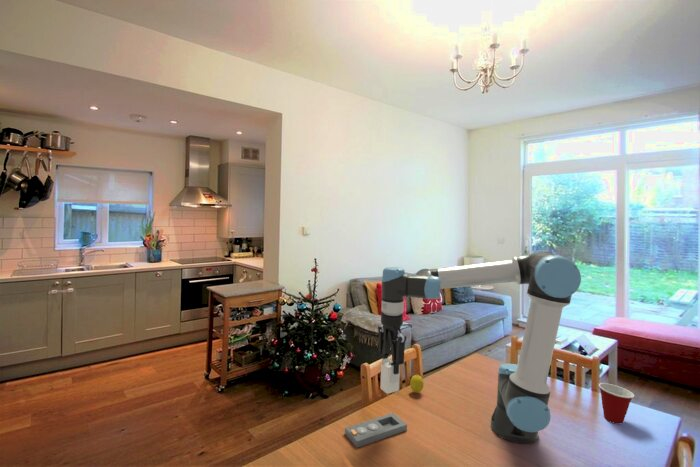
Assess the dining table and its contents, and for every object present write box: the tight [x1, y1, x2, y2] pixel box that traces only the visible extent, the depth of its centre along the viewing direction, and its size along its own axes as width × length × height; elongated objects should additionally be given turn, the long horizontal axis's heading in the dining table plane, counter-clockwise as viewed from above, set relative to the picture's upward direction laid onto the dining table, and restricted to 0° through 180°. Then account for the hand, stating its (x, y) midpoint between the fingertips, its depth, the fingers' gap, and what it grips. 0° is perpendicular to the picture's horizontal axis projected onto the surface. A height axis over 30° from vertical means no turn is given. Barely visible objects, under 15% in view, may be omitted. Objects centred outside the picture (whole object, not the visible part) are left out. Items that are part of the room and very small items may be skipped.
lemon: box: [409, 374, 424, 394], centre depth 148 cm, size 6×6×8 cm
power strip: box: [344, 412, 408, 448], centre depth 119 cm, size 8×20×4 cm, turn 119°
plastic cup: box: [598, 382, 635, 424], centre depth 132 cm, size 11×11×12 cm
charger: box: [380, 360, 401, 395], centre depth 121 cm, size 4×5×10 cm
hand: (390, 379), depth 121 cm, fingers closed on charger, 4 cm apart
